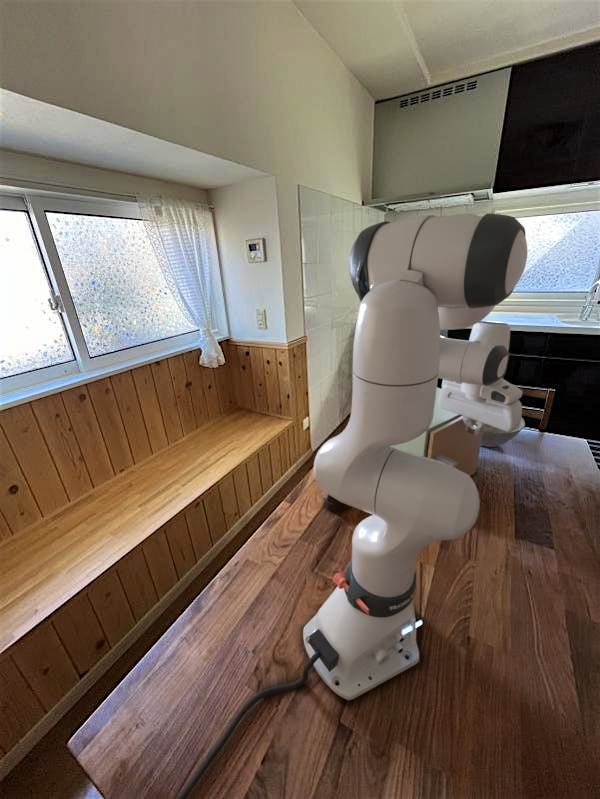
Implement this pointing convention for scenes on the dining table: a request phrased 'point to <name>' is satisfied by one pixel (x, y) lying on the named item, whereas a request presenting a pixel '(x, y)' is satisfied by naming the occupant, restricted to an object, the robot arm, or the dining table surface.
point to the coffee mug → (333, 503)
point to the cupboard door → (456, 445)
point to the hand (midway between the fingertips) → (472, 432)
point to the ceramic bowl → (498, 435)
